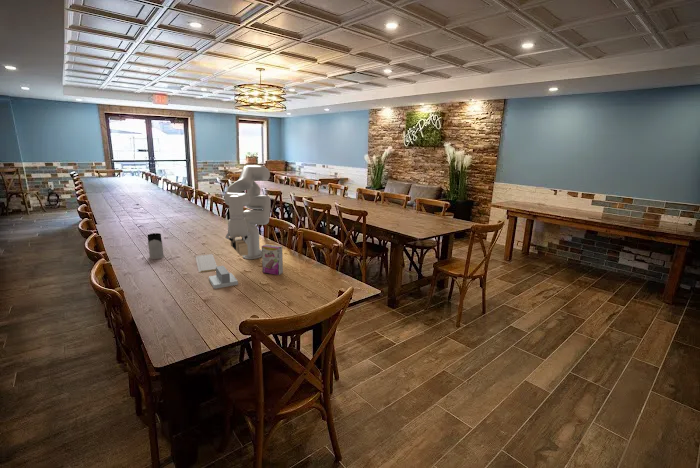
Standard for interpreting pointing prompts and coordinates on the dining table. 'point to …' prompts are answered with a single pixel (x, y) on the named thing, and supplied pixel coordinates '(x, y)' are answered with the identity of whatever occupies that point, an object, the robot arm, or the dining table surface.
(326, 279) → the dining table surface
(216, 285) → the plinth
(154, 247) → the glass holder
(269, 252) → the candy bar box
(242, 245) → the oak bar
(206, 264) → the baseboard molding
